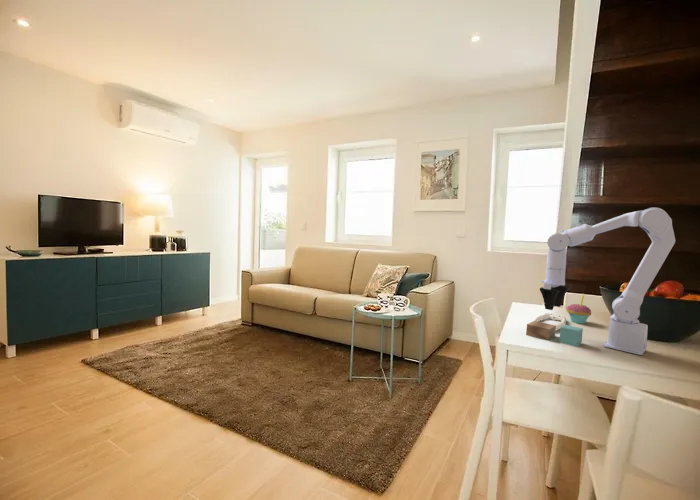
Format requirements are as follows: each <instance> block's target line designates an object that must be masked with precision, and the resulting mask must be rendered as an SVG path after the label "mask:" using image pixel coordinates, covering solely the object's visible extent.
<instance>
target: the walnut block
mask: <svg viewBox="0 0 700 500" xmlns="http://www.w3.org/2000/svg"><path fill="white" fill-rule="evenodd" d="M556 325H557V324H551V323H547V322H541V321H539V322H537V321H534V320H533V321H531V322H529V323H527V324H526V332H525V335H526V336H528V337H533V338H537V339H541V340H545V341H550V340H552V339H553V338H555V337H556V332H557V331H556Z"/></svg>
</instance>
